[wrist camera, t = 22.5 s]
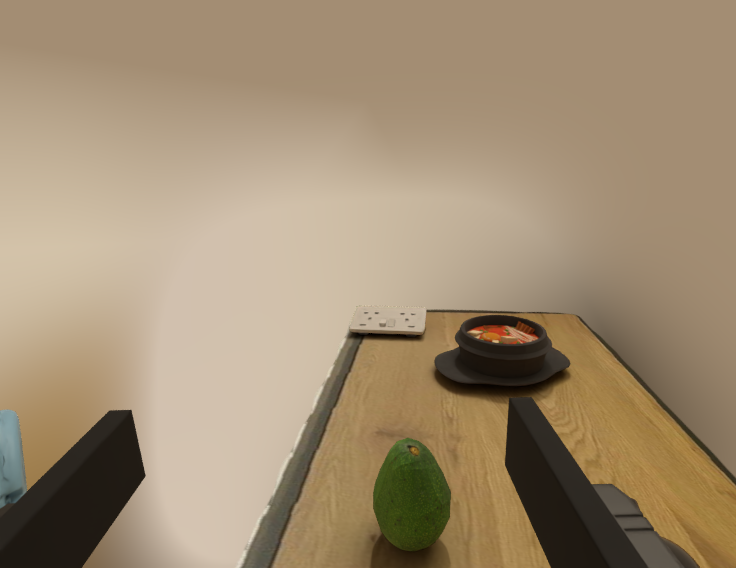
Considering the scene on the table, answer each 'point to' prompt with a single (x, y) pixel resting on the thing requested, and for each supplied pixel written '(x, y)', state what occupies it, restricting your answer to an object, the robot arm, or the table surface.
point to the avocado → (411, 497)
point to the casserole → (501, 353)
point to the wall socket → (388, 320)
